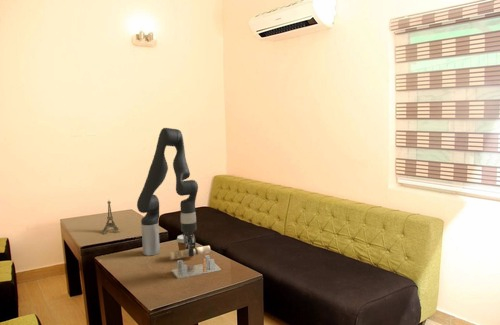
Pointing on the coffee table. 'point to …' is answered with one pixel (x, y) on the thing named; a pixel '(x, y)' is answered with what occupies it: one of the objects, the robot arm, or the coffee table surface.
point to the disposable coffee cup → (182, 246)
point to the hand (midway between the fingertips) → (190, 255)
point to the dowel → (186, 252)
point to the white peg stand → (195, 268)
